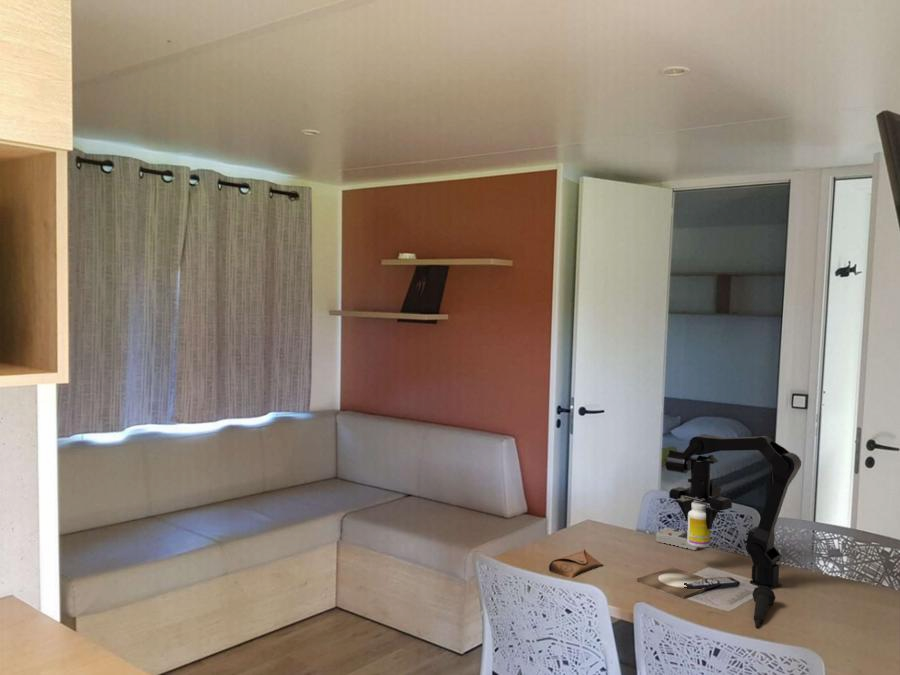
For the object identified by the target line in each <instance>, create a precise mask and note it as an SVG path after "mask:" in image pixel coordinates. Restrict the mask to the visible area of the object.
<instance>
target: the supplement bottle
mask: <svg viewBox="0 0 900 675" xmlns="http://www.w3.org/2000/svg"><path fill="white" fill-rule="evenodd" d="M708 507H709V506H708V503H704V502H700V501H693V502H692V505H691V511H689V512H688V523H687V530H686V532H687V543H688V544H689V545H691V546H694V547H698V548H708V547H709V546H710V543H711V542H710V541H711V528H710V529H707V524H706V509H705V508H708Z"/></svg>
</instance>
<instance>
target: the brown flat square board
mask: <svg viewBox="0 0 900 675" xmlns="http://www.w3.org/2000/svg"><path fill="white" fill-rule="evenodd" d="M700 579H707V578H706V577H702V576H700V575H697V574H695V573H694V574H693V573H691V572H688V571H685V570H682V569H680V568H676V567H673V566H672V567H668V568H666V569H663V570H660V571H655V572H653V573H650V574H646V575H643V576H640V577H637V578H636V581H637V582H639V583H641V584H644V585H647V586H650V587H651V588H654V589H658V590H659V591H662V592H666V593H668V594H671V595H673V596H676V597H678V598H681V599H687V598H690V597H693V596H695V595H698V594H700V593H699V592H700V591H703V590H704V589H705V588H702V589H687V588H684V587H687V586H686V585H684V583H687V584H689V583H694V582H697V580H700ZM697 593H698V594H697ZM694 594H695V595H694ZM692 595H693V596H692Z"/></svg>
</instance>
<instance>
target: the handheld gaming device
mask: <svg viewBox="0 0 900 675" xmlns="http://www.w3.org/2000/svg"><path fill="white" fill-rule="evenodd" d="M655 535H656V536H655V541H656V542H657V543H660V542H661V543H662V544H664V543H666V544H665V545H669V544H671V545H670V546H673V545H675V546H674V547H677V546H679V547H678V548H682V547H683V548H682V549H686V548H688V549H687V550H691V549H692V550H691V551H697V550H698V549H699V547H694V546H691V545H689V544H688V543H687V531H684V530H680V529H676V528H675V529H674V528H670V527H664V528H662V529H659V530H658V531H657V532H656V533H655ZM660 538H661V539H660Z"/></svg>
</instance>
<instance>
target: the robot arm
mask: <svg viewBox="0 0 900 675" xmlns="http://www.w3.org/2000/svg"><path fill="white" fill-rule="evenodd" d="M668 451H669V452H668V455H667V456H666V460H665V468H666V470H667V471H668V472H675V473H679V474H687V473H688V472H689V471H690V478H688V479H687V482H688V483H689V484H690V487H689V488H690V489H689V488H685V487H680V486H679V487H675V488H671V489H670V490H669V492H668V498H670V499H673V500H675V501H674V502H676V503H677V504H678V506H679V508H680V510H681V513H682V514H683V516H684V518H685V521H686V522H687V524H688V512H689V511H691V510H692V506H691V505H692V502H703V503H706V504H707V505H708V504H709V506H708V508H705V509H706V524H707V529H710V530H711V528H712V526H713V523H714V521H715V518H716V517H717V515H718V513H719V512H720V511H726V510H729V509H732V508H733V503H732V500H731V498H729V497H724V496H721V492H722V487H721V486H719V485H716V484H714V480H713V479H712V478H711V466H712V465H715V464H717V463H718V462H719V460H718V459H717V458H716V457H715V456H714V455H713V454H712V453H715V452H721V451H722V452H723V451H725V452H727V451H729V452H731V451H733V452H734V451H759V452H760V453H761V454H762V456H763V457H764V458H765V460H766V461H767V462H769V463H770V464H771V465H772V470H771V471H772V472H771V476H772V477H771V478H772V483H771V486H770V489H769V491H768V495H767V499H766V501H765V504H764V508H763V511H762V513H761V516H760V520H759V523H758V525H757V526H754V527H752V528H751V529H749V530H748V532H747V538H746V540H745V541H744V544H746V545H745V550H746V551H747V554H748V556H750V558H751V561H752V565H751V580H750V581H749V583H750V584H753V585H755V586H757V587H759V586H767V587H768V588H770V589H771V590H772V589H775V588H778V587H780V586H782V582H780V581H779V578H780V564H778V562H780V561H781V558H782V554H781V553H780V552H779V550H777V548H776V547H775V546H774V545H775V538H776V537H775V528H776V524H777V522H778V520H779V519H778V518H779V515H780V512H781V510H782V507H783V503H784V501H785V498H786V494H787V491H788V489H789V486H790V485H791V483H792V481H793V480H794V479H795V477H796V476H797V475H798V472H799V470H800V468H801V467H802V460H801V459H800V456H798V455H797V454H796V453H794V452H791V451H788V450H787V449H786V448H785V447H783V446H782V445H780V444H779V443H777V442H775V441H774V440H773V439H771V438H770V436H767V435H761V436H740V437H738V436H737V437H733V436H731V437H720V436H717V435H712V434H699V435H696V436H693V437H691V439H690V440H689V443H688V446H687V448H686V449H685V450H684V451H681V450H676V449H669V450H668ZM708 454H710V455H708ZM705 455H708V456H705ZM694 456H697V457H694ZM711 464H712V465H711Z"/></svg>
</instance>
